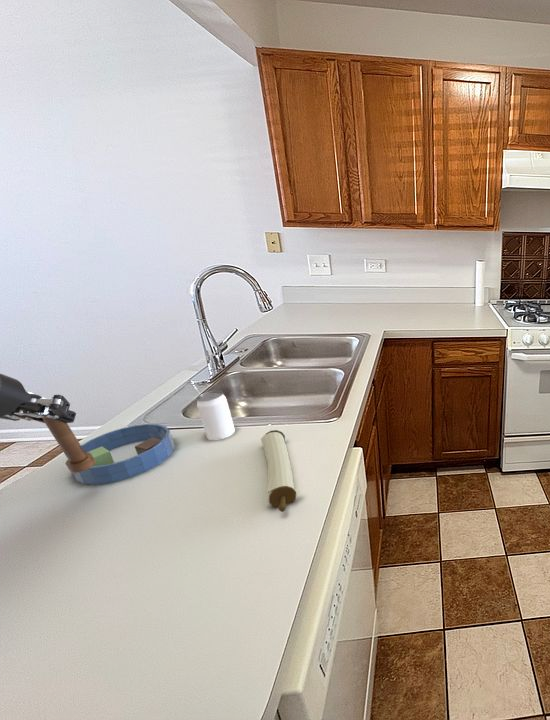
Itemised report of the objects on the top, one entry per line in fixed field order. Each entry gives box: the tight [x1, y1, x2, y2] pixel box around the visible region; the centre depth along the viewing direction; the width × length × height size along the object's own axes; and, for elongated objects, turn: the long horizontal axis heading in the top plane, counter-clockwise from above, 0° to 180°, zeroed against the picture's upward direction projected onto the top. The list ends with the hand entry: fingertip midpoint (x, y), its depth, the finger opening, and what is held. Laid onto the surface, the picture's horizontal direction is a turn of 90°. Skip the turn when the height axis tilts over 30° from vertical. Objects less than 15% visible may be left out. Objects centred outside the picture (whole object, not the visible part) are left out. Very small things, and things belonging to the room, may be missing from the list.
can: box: [196, 390, 236, 441], centre depth 104 cm, size 6×6×12 cm
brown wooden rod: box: [42, 410, 95, 473], centre depth 79 cm, size 4×4×15 cm
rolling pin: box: [260, 429, 297, 513], centre depth 90 cm, size 32×6×5 cm, turn 29°
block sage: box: [89, 447, 115, 467], centre depth 92 cm, size 4×4×4 cm
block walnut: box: [134, 438, 162, 455], centre depth 95 cm, size 4×4×4 cm
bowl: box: [72, 423, 175, 486], centre depth 94 cm, size 18×18×5 cm
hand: (63, 418), depth 78 cm, fingers closed on brown wooden rod, 2 cm apart
